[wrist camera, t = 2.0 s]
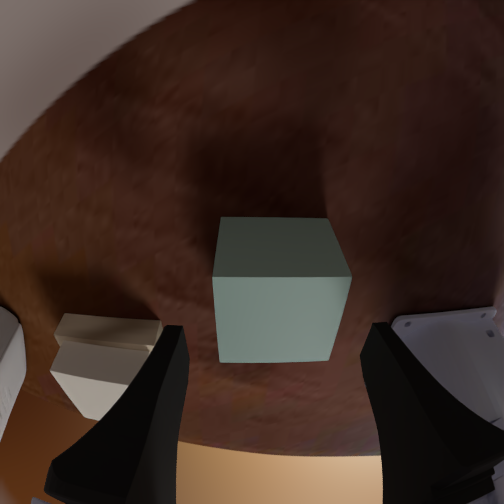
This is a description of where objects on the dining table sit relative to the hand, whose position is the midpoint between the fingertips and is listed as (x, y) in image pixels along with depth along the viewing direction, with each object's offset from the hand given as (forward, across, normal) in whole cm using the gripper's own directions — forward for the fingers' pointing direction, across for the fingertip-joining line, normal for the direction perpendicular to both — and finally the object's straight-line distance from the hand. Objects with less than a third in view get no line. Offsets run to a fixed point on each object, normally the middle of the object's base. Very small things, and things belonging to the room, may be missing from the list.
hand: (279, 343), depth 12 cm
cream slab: (+3, +10, +8) cm, 13 cm away
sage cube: (+6, 0, 0) cm, 6 cm away
